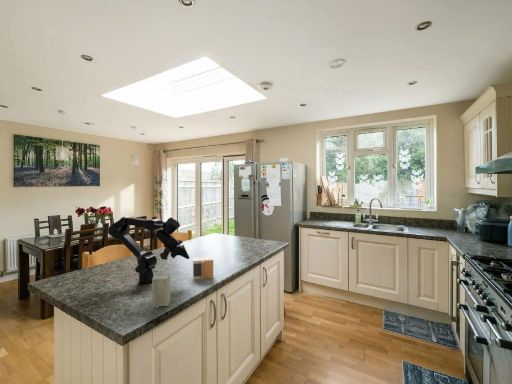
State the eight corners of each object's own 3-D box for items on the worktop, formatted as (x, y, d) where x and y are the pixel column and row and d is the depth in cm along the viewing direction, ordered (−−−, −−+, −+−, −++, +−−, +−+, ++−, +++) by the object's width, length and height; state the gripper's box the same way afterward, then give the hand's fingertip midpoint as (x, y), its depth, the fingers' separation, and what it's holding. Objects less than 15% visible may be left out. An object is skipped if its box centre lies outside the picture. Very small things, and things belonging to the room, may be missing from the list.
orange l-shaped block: (201, 280, 130) (201, 262, 130) (201, 278, 134) (201, 260, 134) (213, 279, 132) (213, 261, 132) (213, 276, 136) (213, 259, 136)
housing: (193, 279, 133) (193, 261, 133) (192, 275, 139) (192, 258, 139) (212, 277, 136) (212, 259, 136) (211, 273, 142) (211, 256, 142)
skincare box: (170, 302, 106) (170, 274, 106) (167, 307, 102) (167, 278, 102) (156, 302, 106) (155, 274, 106) (152, 307, 102) (151, 278, 101)
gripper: (156, 246, 134) (178, 265, 137) (152, 255, 116) (177, 276, 119) (171, 231, 136) (192, 250, 139) (170, 237, 118) (193, 258, 121)
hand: (188, 258), depth 130 cm, fingers closed
